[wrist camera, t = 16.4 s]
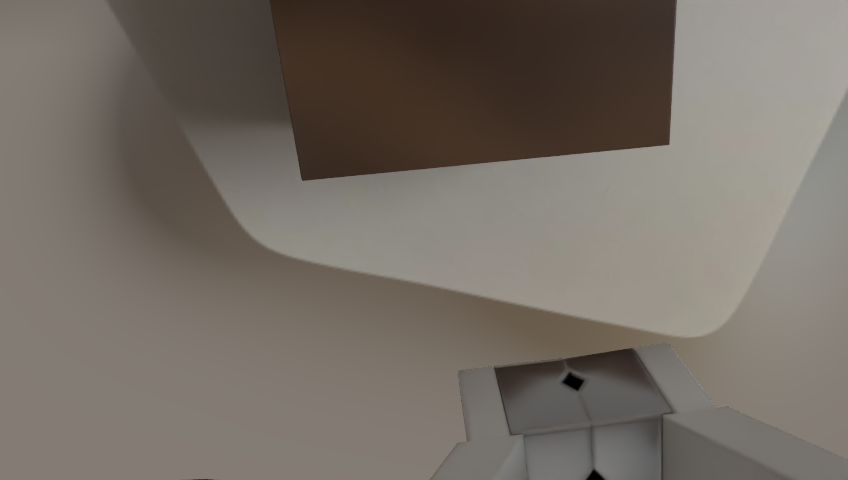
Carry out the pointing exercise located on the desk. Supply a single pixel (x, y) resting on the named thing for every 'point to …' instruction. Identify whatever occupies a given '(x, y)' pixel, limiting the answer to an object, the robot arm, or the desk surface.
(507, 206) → the desk surface
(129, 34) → the desk surface
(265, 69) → the desk surface
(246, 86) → the desk surface
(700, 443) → the robot arm
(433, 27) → the chest lid
